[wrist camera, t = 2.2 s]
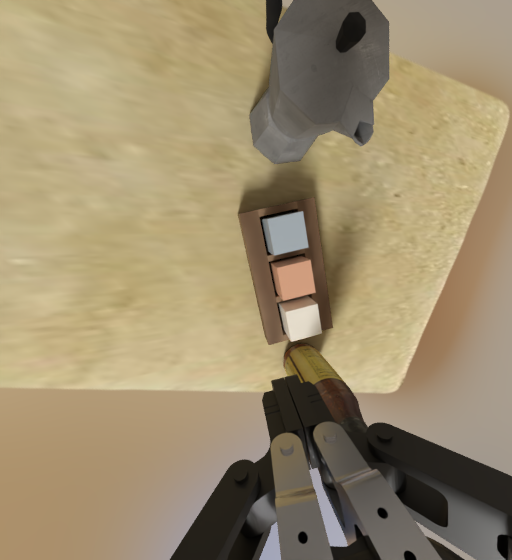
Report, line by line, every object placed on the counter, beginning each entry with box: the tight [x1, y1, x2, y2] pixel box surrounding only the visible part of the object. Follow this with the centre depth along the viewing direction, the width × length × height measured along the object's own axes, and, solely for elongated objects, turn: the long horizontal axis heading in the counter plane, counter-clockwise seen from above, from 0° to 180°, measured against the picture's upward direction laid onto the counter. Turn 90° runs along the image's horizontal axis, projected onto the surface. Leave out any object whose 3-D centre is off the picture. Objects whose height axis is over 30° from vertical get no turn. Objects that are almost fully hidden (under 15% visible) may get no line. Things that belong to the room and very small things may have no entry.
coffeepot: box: [250, 0, 389, 164], centre depth 24 cm, size 15×9×18 cm, turn 30°
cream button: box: [278, 295, 322, 342], centre depth 35 cm, size 4×4×4 cm
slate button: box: [262, 211, 308, 256], centre depth 32 cm, size 4×4×4 cm
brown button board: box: [238, 197, 333, 345], centre depth 36 cm, size 10×19×3 cm, turn 12°
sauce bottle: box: [284, 344, 368, 433], centre depth 32 cm, size 6×6×20 cm
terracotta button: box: [270, 256, 316, 301], centre depth 33 cm, size 4×4×4 cm
